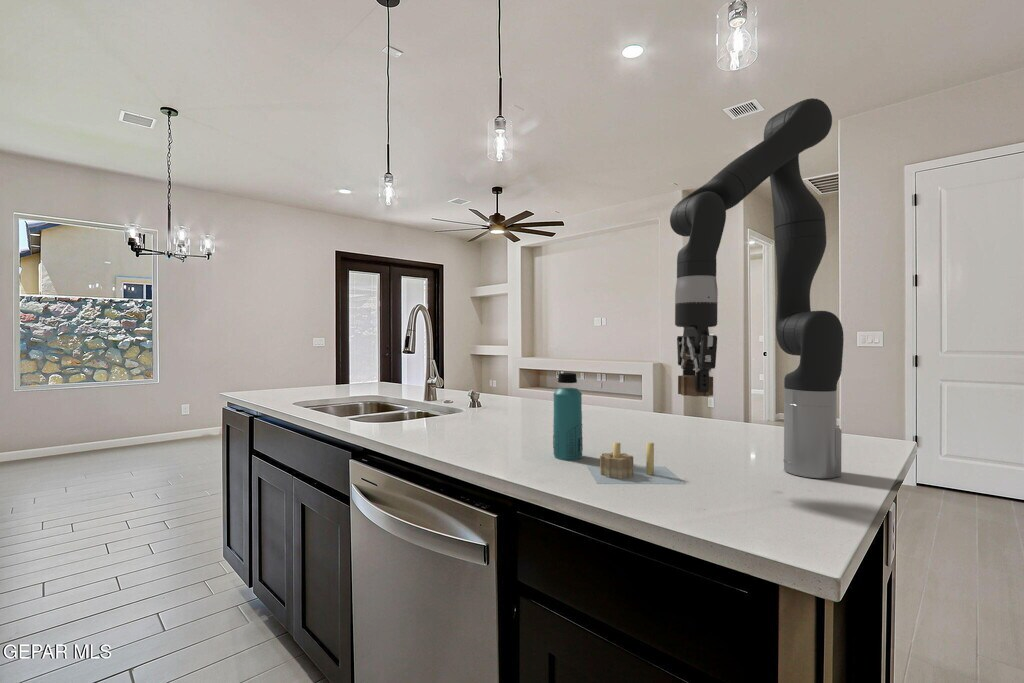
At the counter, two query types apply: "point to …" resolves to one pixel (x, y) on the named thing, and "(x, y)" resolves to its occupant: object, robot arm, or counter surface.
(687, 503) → the counter surface
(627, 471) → the beech gear
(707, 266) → the robot arm
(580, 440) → the beverage bottle
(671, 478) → the gear board
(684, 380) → the walnut gear
